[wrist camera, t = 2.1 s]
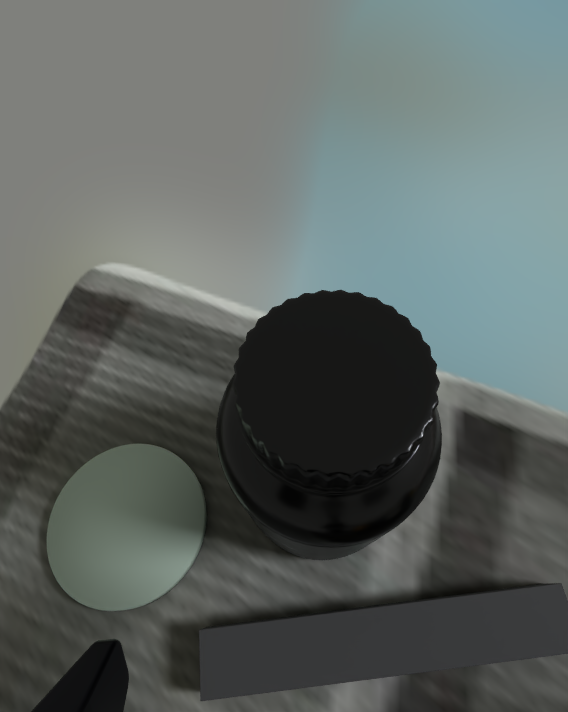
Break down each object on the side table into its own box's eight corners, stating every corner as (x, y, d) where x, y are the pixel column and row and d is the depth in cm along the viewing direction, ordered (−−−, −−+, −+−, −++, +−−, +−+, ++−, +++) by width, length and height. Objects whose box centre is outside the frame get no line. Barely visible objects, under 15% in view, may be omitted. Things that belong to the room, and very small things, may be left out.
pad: (139, 648, 18) (134, 649, 18) (20, 550, 20) (13, 548, 20) (237, 495, 21) (235, 493, 20) (123, 421, 23) (119, 417, 22)
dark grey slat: (540, 583, 19) (561, 583, 17) (560, 645, 18) (585, 651, 16) (208, 626, 19) (199, 630, 17) (210, 691, 18) (200, 701, 16)
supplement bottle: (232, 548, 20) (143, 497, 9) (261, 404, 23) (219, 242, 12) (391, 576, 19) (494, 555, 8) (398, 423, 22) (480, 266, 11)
